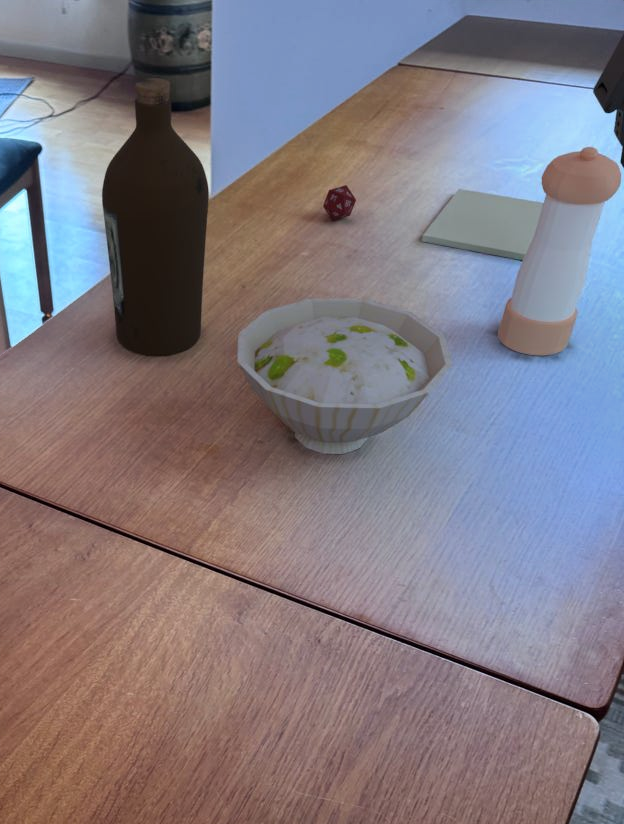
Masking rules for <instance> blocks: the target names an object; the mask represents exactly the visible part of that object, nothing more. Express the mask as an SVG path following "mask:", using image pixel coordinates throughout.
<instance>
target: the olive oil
mask: <svg viewBox="0 0 624 824" xmlns="http://www.w3.org/2000/svg"><path fill="white" fill-rule="evenodd" d="M170 92H171V83H170V81H169V80H167V79H164V78H159V77H149V78H143V79H141V80H139V81H137V82H136V83H135V94H136V98H135V99H134V110H135V111H134V113H135V128H134V130H133V132H132V133H131V134H130V136H129V137H128V139H126V141H125V142H124V143H123V144H122V145H121V147H120V148H119V149H118V150H117V152H116V153H115V154H114V156H113V157H112V159H111V160H110V162H109V163H108V165H107V167H106V170H105V174H104V177H103V182H102V190H101V199H102V200H101V203H102V204H101V205H102V211H103V220H104V221H103V222H104V229H105V237H106V245H107V246H106V247H107V255H108V262H109V264H108V265H109V272H110V273H109V274H110V281H111V290H112V301H113V309H114V311H113V312H114V320H115V321H114V322H115V332H116V338H117V341H118V343H119V344H120V345H121V346H122V347H124V348H125V349H126V350H128V351H130V352H133V353H135V354H138V355H143V356H151V357H164V356H172V355H176V354H179V353H182V352H185V351H187V350H188V349H190V348H192V347H193V346H194V345H195V344H196V343H197V342H198V341H199V339H200V336H201V331H202V312H203V311H202V308H203V290H204V289H203V285H204V272H205V270H204V269H205V258H206V257H205V256H206V240H207V225H208V213H209V198H210V197H209V196H210V195H209V194H210V192H209V183H208V179H207V174H206V172H205V168H204V166H203V163H202V161H201V160H200V158H199V156H197V154H196V153H195V152H194V151H193V149H192V148H191V147H190V146H189V145H188V144H187V143H186V142H185V140H183V138H182V137H181V136H180V135H179V134H178V133H177V132H176V130H175V129H174V127H173V126H172V98H171V96H170Z"/></svg>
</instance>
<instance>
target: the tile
mask: <svg viewBox="0 0 624 824" xmlns="http://www.w3.org/2000/svg"><path fill="white" fill-rule="evenodd" d="M543 203H544V202H542V201H535V200H529V199H522V198H517V197H512V196H511V197H510V196H505V195H498V194H493V193H486V192H481V191H474V190H468V189H462V188H459V189H458V190H457V191H456V192H455V194H454V195H452V197H451V198H450V200H449V201H448V202H447V203H446V205H445V206H444V207H443V208H442V210H441V211H440V212H439V214H438V215H437V217H436V218H435V219H434V220H433V221H432V223H431V224H430V225H429V227H427V229H426V231H425V232H423V234H422V238H421V242H422V243H423V242H424V243H430V244H434V245H439V246H445V247H450V248H455V249H461V250H464V251H465V250H466V251H471V252H477V253H482V254H487V255H493V256H498V257H503V258H508V259H514V260H517V261H519V260H520V261H523V259H524V257H525V255H526V253H527V250H528V248H529V246H530V244H531V241H532V239H533V237H534V234H535V231H536V227H537V224H538V221H539V217H540V214H541V210H542V207H543Z"/></svg>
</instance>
